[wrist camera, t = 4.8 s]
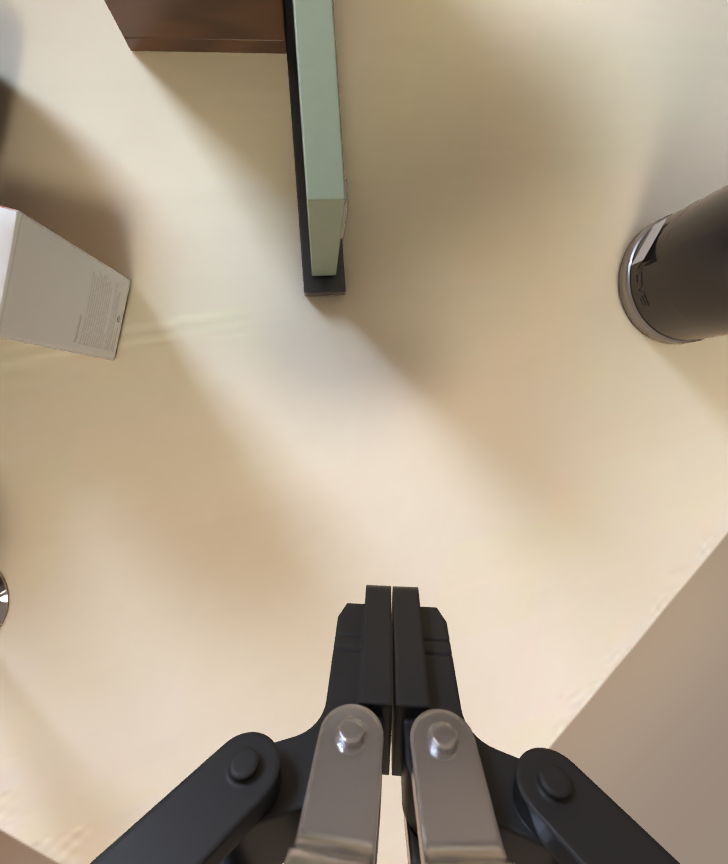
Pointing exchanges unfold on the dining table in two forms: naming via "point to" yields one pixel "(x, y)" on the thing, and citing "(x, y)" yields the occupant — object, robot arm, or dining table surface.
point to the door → (321, 131)
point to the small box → (56, 291)
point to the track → (311, 283)
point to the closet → (201, 25)
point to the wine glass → (3, 599)
